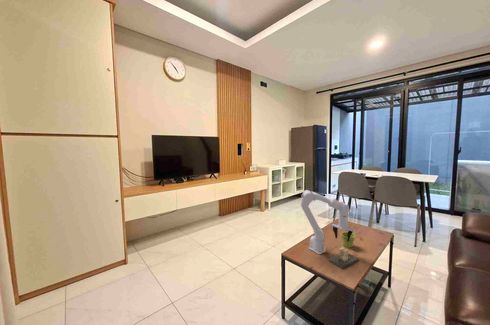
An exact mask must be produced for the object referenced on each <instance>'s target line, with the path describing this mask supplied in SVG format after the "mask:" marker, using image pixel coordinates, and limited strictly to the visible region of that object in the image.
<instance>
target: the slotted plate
mask: <svg viewBox="0 0 490 325" xmlns="http://www.w3.org/2000/svg"><path fill="white" fill-rule="evenodd" d="M338 258H339V253H338V254H336V255H334V256H332V257H329V258H328V262H329V263H331V264H333V265H335V266H337V267H338V268H339V269H342V270H344V269H345V268H347V267H349V266H351V265H353V264H355V263H357V262H359V257H356V256H354V255H352V254H351V253H348V261H346V262H344V261H342V260H340V259H338Z"/></svg>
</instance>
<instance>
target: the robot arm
mask: <svg viewBox="0 0 490 325" xmlns="http://www.w3.org/2000/svg"><path fill="white" fill-rule="evenodd" d="M300 198H301V200H300V207H301V209H302V211H303V212H304V214H305V216H306V218H307V220H308V222H309V224H310V226H311V228H312V230H313V234H314V235H312V236H311V237H310V239H309V247H308V249H309V250H311V251H312V252H314V253H316V254H318V255H321V254H323V253H326V252H327V249H325V239H326V235H325V233H324V231H323V229H322V228H321V227H320V226H319V224H318V222H317V220H316V219H315V216H314V215H313V212H312V211H311V209H310V207H309V206H310V204H311V203H312V202H313V201H321V202H322V203H325V204H327V205H328V206H329V207H330V208H332V209H335V210H337V211H338V224H335V223H331V228H332V231H333V233H334V237H335V239H338V232H339V230H341V231H345V232H346V231H347V232H348V239H347V242H349V239H350V236H351V234H355V231H356V230H355V228H352V227H349V226H348V222H349V213H350V207H349V205H347V204H346V203H344V201H339V200H337V199H336V198H328V197H327V196H326V197H325V196H324V195H321V194H319V193H317V192H315V191H311V190H309V189H305V190H304V191H303V192H302V194H301V197H300Z"/></svg>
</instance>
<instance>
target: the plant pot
mask: <svg viewBox="0 0 490 325" xmlns="http://www.w3.org/2000/svg"><path fill="white" fill-rule="evenodd" d="M340 235H341V236H342V245H343V247H344V248H346V249H347V248H353V246H354V241H355V238H356V235H355V233H352V234H351V236H350V239H349V242H347V239H348V231H347V232H346V231H343V232H341V233H340Z"/></svg>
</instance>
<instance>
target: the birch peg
mask: <svg viewBox="0 0 490 325" xmlns="http://www.w3.org/2000/svg"><path fill="white" fill-rule="evenodd" d="M338 254H339V258H338V259H340V260H342V261H344V262H346V261H348V254H349V249H347V248H346V247H344V246H342V247H340V248H338Z"/></svg>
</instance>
